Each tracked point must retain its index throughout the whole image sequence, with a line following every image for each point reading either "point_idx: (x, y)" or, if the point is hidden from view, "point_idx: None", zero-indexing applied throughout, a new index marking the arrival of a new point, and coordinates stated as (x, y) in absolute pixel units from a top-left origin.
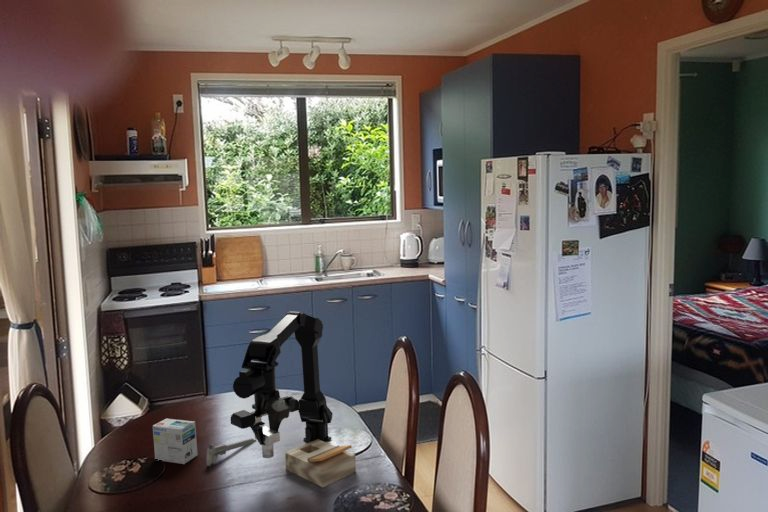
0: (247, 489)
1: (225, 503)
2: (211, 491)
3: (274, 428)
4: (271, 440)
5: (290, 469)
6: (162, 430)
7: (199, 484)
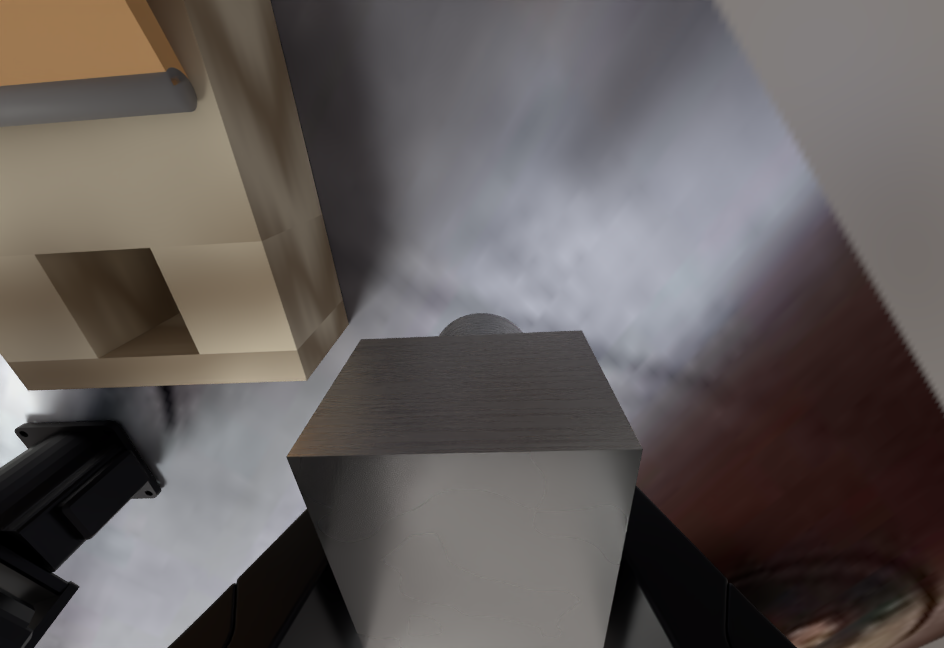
0: (623, 279)
1: (809, 227)
2: (738, 381)
3: (317, 617)
4: (531, 368)
5: (334, 290)
6: None
7: (715, 460)
